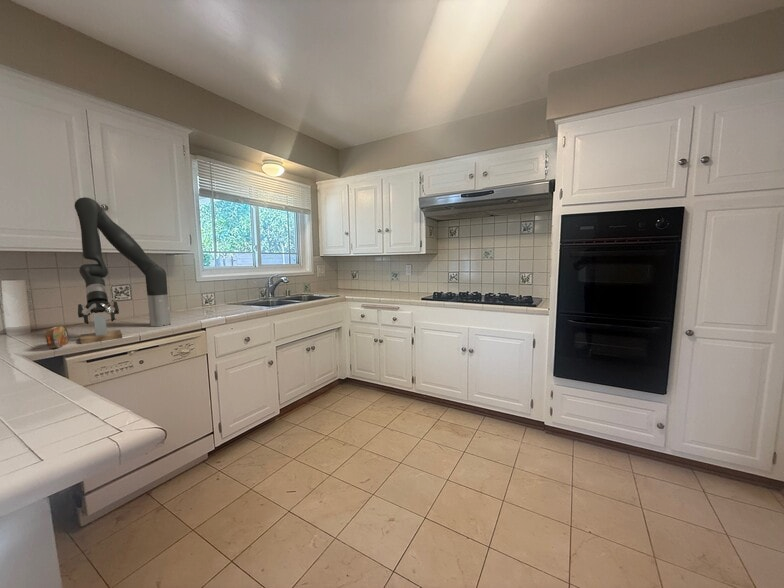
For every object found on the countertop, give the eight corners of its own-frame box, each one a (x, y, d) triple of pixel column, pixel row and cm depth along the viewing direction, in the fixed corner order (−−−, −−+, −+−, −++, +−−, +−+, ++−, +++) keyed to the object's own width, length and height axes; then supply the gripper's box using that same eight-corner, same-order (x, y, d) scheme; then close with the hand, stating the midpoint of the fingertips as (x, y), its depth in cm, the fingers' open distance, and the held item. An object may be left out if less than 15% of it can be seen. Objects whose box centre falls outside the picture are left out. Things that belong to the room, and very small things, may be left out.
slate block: (106, 332, 153) (104, 314, 152) (107, 334, 151) (105, 315, 150) (95, 334, 151) (93, 315, 150) (95, 335, 148) (93, 316, 147)
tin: (56, 350, 132) (53, 329, 131) (45, 351, 130) (42, 330, 130) (70, 342, 145) (67, 323, 144) (60, 343, 143) (58, 324, 143)
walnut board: (120, 333, 161) (119, 329, 160) (122, 338, 150) (122, 334, 150) (81, 338, 151) (81, 334, 151) (81, 343, 141) (80, 339, 141)
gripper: (75, 291, 149) (78, 318, 142) (115, 289, 159) (120, 314, 152) (77, 301, 154) (79, 328, 146) (116, 298, 163) (120, 324, 156)
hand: (100, 321), depth 149 cm, fingers open, 8 cm apart
